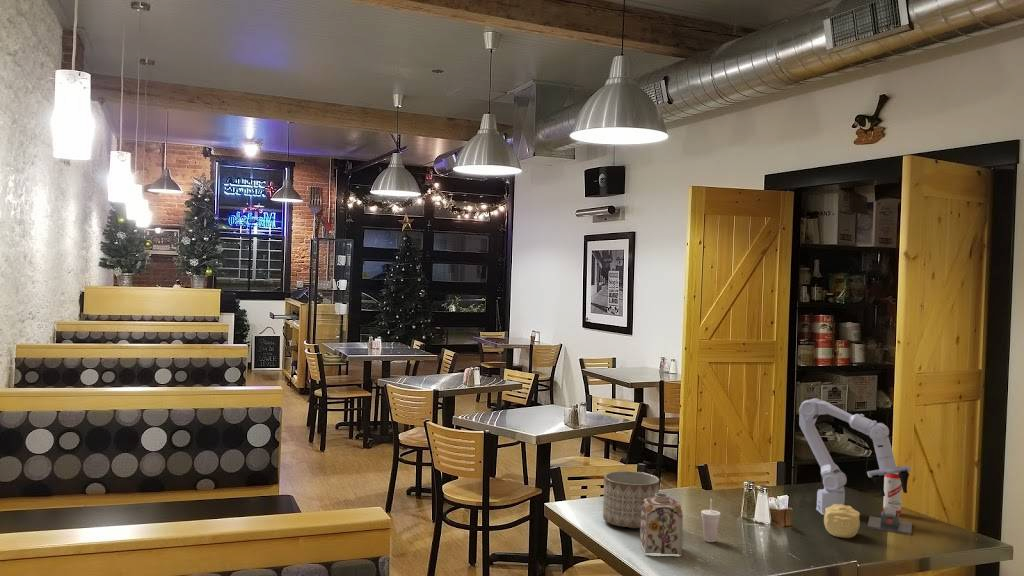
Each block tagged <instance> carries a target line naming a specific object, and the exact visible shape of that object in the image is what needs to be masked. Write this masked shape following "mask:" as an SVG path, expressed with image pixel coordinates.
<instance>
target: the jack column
mask: <svg viewBox="0 0 1024 576" xmlns="http://www.w3.org/2000/svg"><path fill="white" fill-rule="evenodd" d="M884 515H889V516H895V517H896V506H890V505H885V514H884Z"/></svg>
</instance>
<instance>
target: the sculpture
mask: <svg viewBox="0 0 1024 576" xmlns="http://www.w3.org/2000/svg"><path fill="white" fill-rule="evenodd" d="M825 512H826V513H825V515H823V524H824V527H825V530H826V531H827V532H828V534H830V535H831V536H833V537H837V538H843V539H852V538H853V537H855V536H856V535H857V534H858V532H859V529H860V525H861V519H860V515H861V513H860V512H859V511H858V510H856V509H855V508H853V507H852V506H851V505H845V504H844V505H843V504H841V505H837V504H833V505H832V506H830V507H828V508H826V509H825Z"/></svg>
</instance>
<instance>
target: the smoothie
mask: <svg viewBox="0 0 1024 576" xmlns="http://www.w3.org/2000/svg"><path fill="white" fill-rule="evenodd" d="M709 500H710V503H709V509H703V510H701V511H700V515H701V518H702V519H701V520H702V521H701V523H702V531H703V533H702V534H703V540H704V539H706V540H709V541H713V540H717V535H718V527H719V523H720V517H721V512H720V511H718V510H714V509H713V498H710V499H709Z"/></svg>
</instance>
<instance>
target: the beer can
mask: <svg viewBox="0 0 1024 576" xmlns="http://www.w3.org/2000/svg"><path fill="white" fill-rule="evenodd" d="M893 472H896V471H893ZM885 473H889V472H885ZM883 476H884V477H883V490H884V493H885V496H882V497H883V499H882V500H883V502H882V503H883V504H882V511H885V505H890V506H896V513H899V515H901V514H902V499H903V498H902V497H903V496H902V494H903V489H902V484H901V480H900V477H899V474H898V473H894V474H887V475H883Z"/></svg>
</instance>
